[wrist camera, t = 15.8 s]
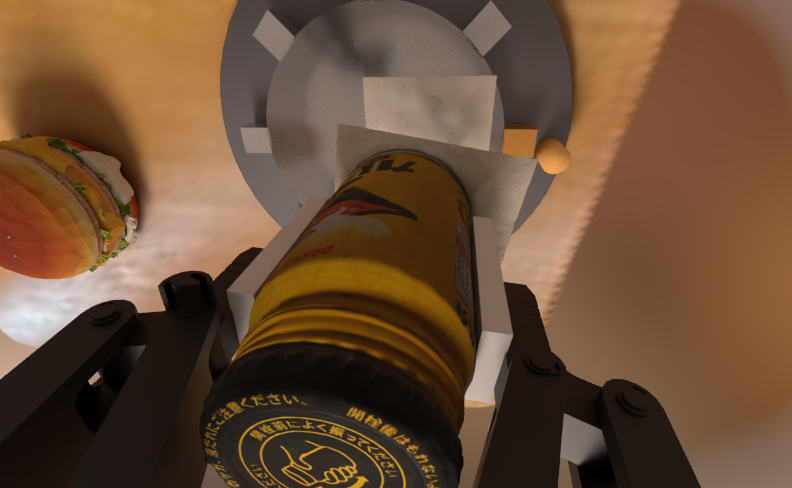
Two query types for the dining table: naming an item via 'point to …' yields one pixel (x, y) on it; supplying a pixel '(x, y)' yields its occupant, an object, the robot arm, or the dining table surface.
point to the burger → (61, 207)
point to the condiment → (367, 325)
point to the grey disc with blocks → (379, 86)
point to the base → (459, 3)
